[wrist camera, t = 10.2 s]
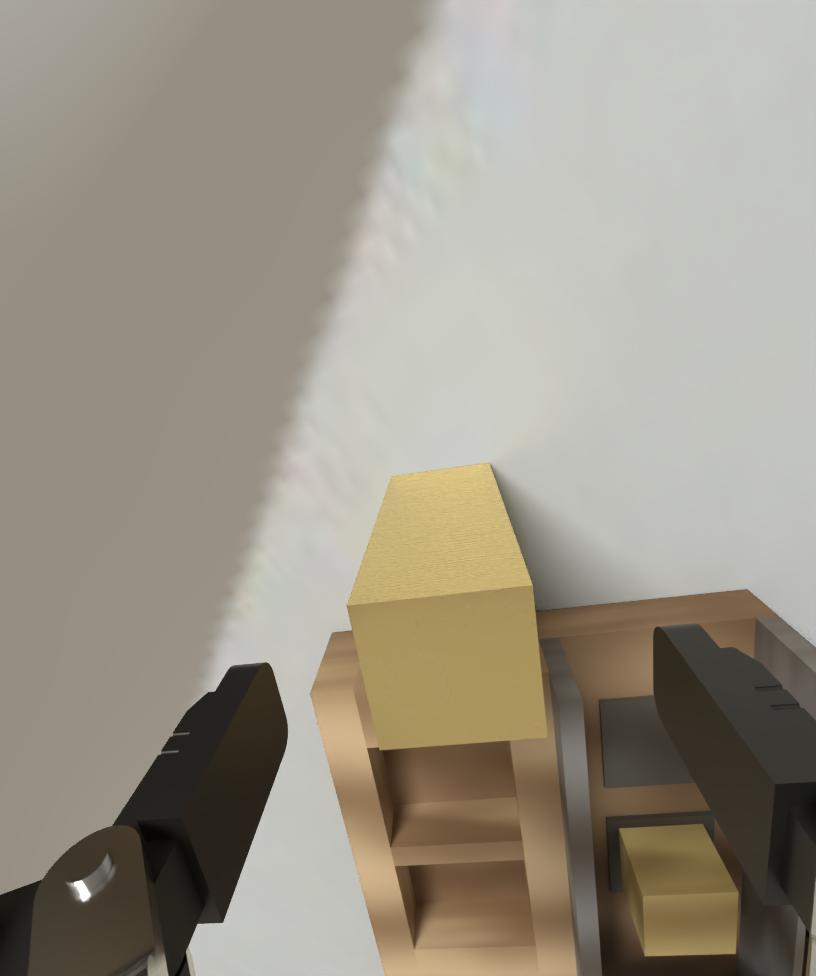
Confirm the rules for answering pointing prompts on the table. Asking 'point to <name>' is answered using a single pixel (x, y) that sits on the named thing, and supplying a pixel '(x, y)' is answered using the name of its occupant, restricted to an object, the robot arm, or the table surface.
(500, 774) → the board
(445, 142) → the table surface
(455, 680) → the pin
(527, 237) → the table surface
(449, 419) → the table surface
